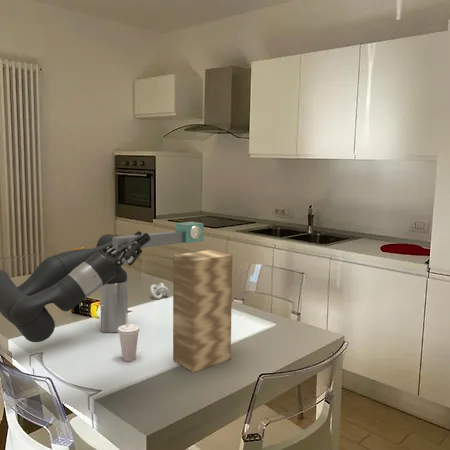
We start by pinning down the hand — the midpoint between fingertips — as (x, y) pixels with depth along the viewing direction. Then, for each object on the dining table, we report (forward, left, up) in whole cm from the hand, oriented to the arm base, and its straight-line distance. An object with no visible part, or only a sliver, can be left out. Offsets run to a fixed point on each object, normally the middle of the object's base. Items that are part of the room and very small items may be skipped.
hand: (144, 235), depth 124 cm
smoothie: (-3, +14, -40) cm, 43 cm away
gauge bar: (+4, +2, -3) cm, 5 cm away
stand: (+18, +8, -40) cm, 44 cm away
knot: (+15, +75, -40) cm, 86 cm away
